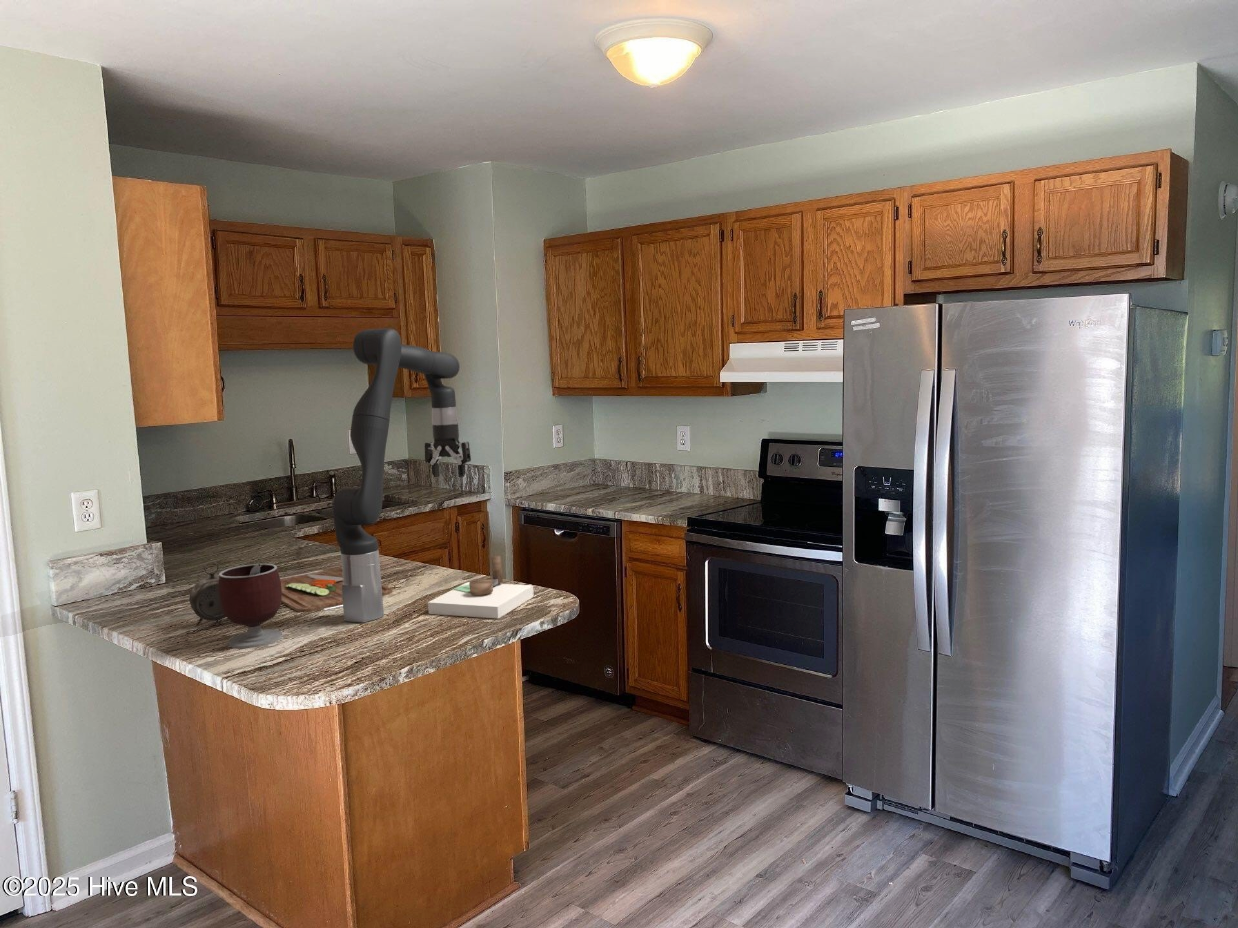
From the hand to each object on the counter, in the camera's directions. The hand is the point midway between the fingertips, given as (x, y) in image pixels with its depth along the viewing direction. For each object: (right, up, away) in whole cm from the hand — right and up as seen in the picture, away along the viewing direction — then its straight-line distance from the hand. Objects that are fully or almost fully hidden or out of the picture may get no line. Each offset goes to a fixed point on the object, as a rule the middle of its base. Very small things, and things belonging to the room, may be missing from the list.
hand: (449, 477), depth 269 cm
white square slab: (+15, -33, -32) cm, 48 cm away
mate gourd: (-36, -39, -53) cm, 75 cm away
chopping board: (-35, -33, -8) cm, 49 cm away
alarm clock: (-52, -37, -37) cm, 74 cm away
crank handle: (+16, -29, -29) cm, 44 cm away
